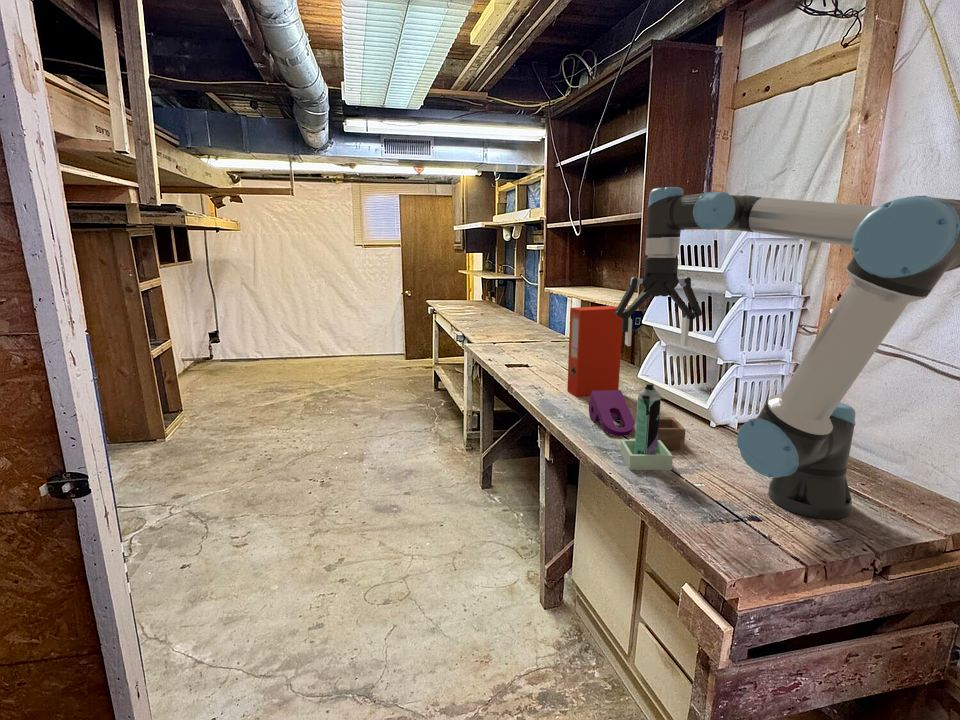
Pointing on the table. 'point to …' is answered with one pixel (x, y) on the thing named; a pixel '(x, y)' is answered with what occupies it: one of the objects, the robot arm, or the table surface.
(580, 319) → the file binder
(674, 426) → the brown open-top box
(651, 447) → the spray can
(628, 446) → the parts tray
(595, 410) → the mounting bracket
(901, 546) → the table surface
